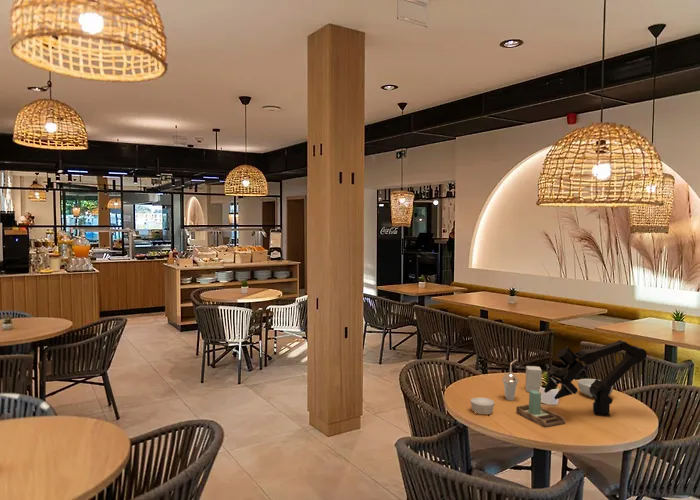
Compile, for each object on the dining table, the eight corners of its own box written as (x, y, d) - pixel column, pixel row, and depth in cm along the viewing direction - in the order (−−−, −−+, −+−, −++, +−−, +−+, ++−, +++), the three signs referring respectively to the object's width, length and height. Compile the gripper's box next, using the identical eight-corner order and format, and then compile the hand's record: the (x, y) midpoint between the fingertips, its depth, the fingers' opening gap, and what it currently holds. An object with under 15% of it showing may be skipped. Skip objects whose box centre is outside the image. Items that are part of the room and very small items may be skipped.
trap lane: (565, 423, 236) (565, 416, 236) (544, 427, 232) (545, 420, 231) (535, 409, 253) (536, 403, 253) (516, 413, 249) (516, 406, 248)
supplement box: (541, 393, 278) (542, 370, 277) (526, 392, 279) (527, 369, 278) (539, 389, 285) (540, 366, 284) (525, 388, 286) (525, 365, 286)
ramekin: (474, 405, 258) (474, 395, 257) (496, 410, 252) (497, 399, 252) (467, 413, 248) (467, 402, 248) (490, 417, 242) (490, 406, 242)
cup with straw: (497, 396, 271) (499, 359, 270) (513, 395, 274) (514, 358, 272) (507, 402, 263) (508, 363, 262) (522, 401, 265) (523, 362, 264)
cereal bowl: (619, 397, 273) (619, 384, 272) (601, 403, 263) (602, 390, 263) (588, 388, 287) (589, 376, 286) (570, 394, 277) (571, 381, 277)
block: (535, 410, 248) (536, 390, 248) (540, 414, 244) (540, 393, 243) (528, 411, 248) (529, 390, 247) (533, 414, 243) (533, 393, 243)
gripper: (550, 355, 255) (529, 378, 254) (572, 365, 237) (549, 390, 236) (565, 370, 257) (543, 393, 256) (587, 381, 238) (564, 406, 237)
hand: (549, 395), depth 246 cm, fingers open, 9 cm apart
